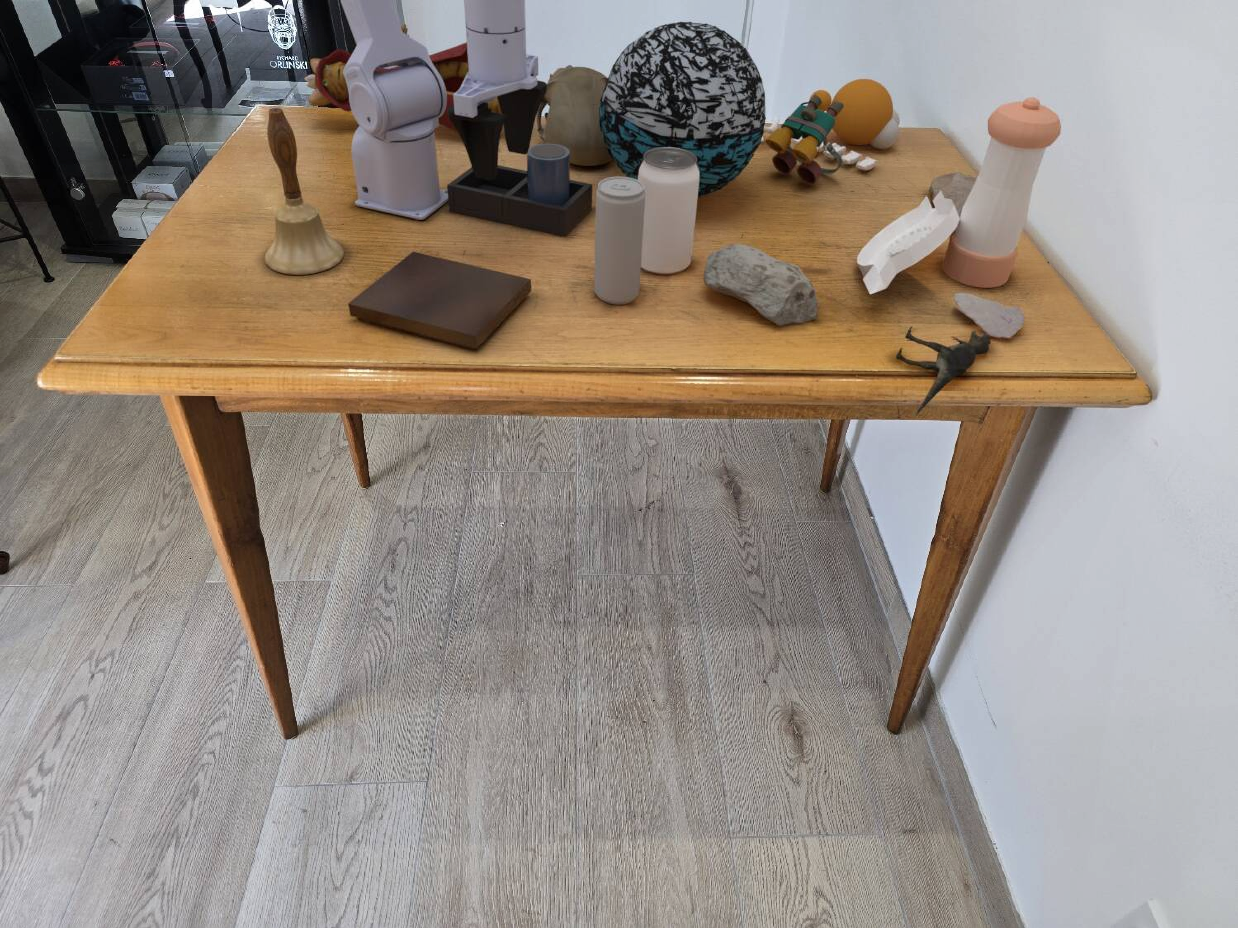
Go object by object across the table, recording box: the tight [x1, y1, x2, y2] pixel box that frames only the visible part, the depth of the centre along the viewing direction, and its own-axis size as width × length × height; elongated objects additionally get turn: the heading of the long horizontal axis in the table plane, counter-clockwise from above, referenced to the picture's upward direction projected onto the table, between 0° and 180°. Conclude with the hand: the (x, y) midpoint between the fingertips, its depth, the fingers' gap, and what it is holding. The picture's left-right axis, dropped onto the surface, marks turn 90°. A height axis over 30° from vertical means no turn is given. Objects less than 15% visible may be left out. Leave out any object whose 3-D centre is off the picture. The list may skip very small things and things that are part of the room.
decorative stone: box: [703, 243, 818, 327], centre depth 92 cm, size 12×11×5 cm
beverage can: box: [593, 176, 645, 306], centre depth 89 cm, size 5×5×12 cm
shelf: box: [347, 251, 532, 351], centre depth 89 cm, size 14×12×2 cm
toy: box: [799, 78, 900, 150], centre depth 127 cm, size 9×10×15 cm
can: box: [638, 147, 699, 276], centre depth 95 cm, size 6×6×12 cm
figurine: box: [304, 24, 502, 133], centre depth 125 cm, size 16×13×30 cm
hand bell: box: [264, 107, 345, 276], centre depth 92 cm, size 8×8×16 cm
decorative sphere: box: [599, 21, 767, 198], centre depth 107 cm, size 20×20×20 cm
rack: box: [446, 164, 593, 237], centre depth 107 cm, size 15×8×3 cm, turn 69°
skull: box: [535, 64, 613, 167], centre depth 120 cm, size 12×18×12 cm, turn 15°
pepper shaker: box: [941, 97, 1062, 289], centre depth 94 cm, size 7×7×19 cm
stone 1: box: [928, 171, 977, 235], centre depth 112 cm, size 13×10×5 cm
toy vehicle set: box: [792, 136, 878, 171], centre depth 124 cm, size 12×4×2 cm, turn 49°
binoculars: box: [765, 94, 844, 186], centre depth 116 cm, size 9×9×10 cm
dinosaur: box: [895, 326, 992, 417], centre depth 83 cm, size 4×20×7 cm
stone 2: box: [953, 292, 1026, 339], centre depth 91 cm, size 6×8×2 cm
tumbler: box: [526, 143, 571, 206], centre depth 104 cm, size 5×5×7 cm
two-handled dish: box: [856, 190, 960, 295], centre depth 98 cm, size 10×25×2 cm
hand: (502, 164), depth 93 cm, fingers open, 7 cm apart
